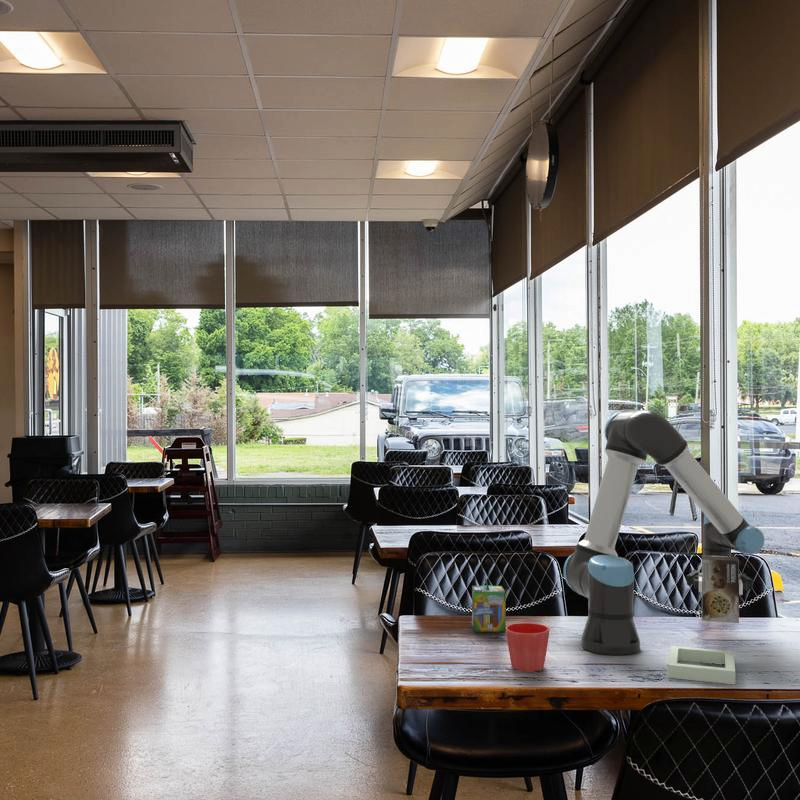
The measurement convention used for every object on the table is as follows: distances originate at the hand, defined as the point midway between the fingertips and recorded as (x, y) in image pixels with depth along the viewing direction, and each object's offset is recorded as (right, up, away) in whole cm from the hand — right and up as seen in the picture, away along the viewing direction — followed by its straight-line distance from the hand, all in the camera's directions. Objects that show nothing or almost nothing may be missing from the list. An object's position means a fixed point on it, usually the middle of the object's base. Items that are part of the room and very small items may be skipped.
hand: (720, 588), depth 227 cm
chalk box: (-56, -18, +29) cm, 66 cm away
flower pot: (-50, -18, -9) cm, 54 cm away
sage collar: (-8, -18, -10) cm, 22 cm away
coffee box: (+1, -9, +4) cm, 10 cm away
